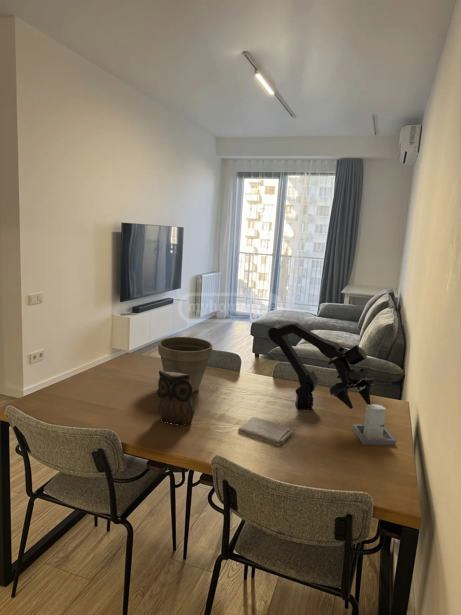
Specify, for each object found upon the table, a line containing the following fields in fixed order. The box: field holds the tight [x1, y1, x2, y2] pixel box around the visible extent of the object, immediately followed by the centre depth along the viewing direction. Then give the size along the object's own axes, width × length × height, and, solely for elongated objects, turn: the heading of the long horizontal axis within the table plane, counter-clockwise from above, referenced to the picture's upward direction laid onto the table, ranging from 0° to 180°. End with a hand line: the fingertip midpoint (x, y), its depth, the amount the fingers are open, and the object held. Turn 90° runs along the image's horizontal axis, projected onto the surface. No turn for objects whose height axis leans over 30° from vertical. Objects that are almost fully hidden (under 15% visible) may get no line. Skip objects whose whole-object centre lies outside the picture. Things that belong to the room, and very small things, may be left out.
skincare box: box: [362, 403, 387, 439], centre depth 159 cm, size 6×4×12 cm
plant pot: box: [157, 336, 214, 393], centre depth 196 cm, size 25×25×22 cm
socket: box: [351, 423, 397, 446], centre depth 159 cm, size 12×12×2 cm
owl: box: [157, 370, 195, 426], centre depth 162 cm, size 13×13×20 cm
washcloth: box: [237, 416, 293, 447], centre depth 158 cm, size 12×18×3 cm, turn 60°
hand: (360, 406), depth 164 cm, fingers open, 9 cm apart
